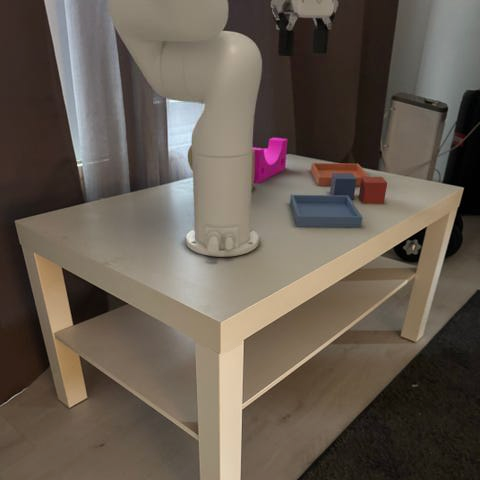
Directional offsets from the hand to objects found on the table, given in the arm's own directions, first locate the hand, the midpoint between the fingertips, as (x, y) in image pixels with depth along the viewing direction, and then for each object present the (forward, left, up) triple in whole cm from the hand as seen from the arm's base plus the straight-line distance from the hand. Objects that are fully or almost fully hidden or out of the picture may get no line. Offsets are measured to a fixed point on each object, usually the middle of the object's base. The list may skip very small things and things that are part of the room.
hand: (302, 54), depth 91 cm
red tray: (+17, -13, -28) cm, 35 cm away
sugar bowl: (+6, +15, -28) cm, 32 cm away
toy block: (+20, +6, -28) cm, 35 cm away
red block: (0, -17, -28) cm, 33 cm away
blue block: (+3, -11, -28) cm, 30 cm away
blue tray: (-10, -5, -28) cm, 30 cm away
